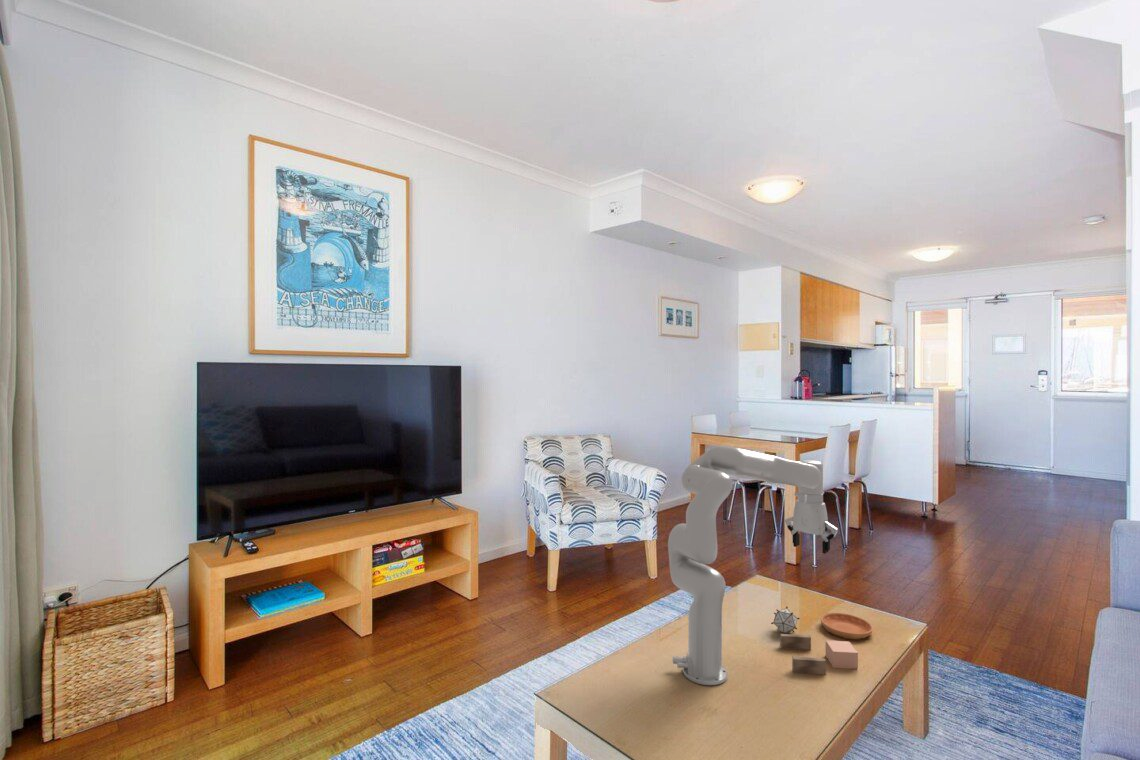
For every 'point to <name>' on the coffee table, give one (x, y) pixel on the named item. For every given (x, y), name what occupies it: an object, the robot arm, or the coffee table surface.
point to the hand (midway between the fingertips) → (810, 549)
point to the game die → (785, 620)
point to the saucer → (846, 625)
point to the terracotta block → (841, 654)
